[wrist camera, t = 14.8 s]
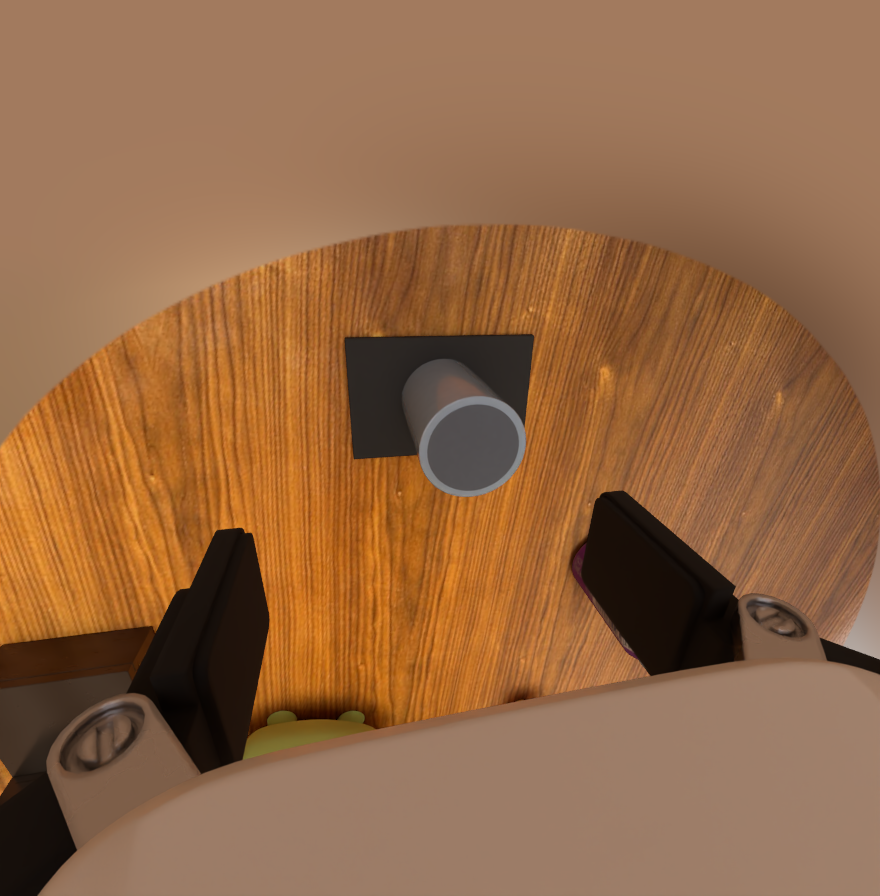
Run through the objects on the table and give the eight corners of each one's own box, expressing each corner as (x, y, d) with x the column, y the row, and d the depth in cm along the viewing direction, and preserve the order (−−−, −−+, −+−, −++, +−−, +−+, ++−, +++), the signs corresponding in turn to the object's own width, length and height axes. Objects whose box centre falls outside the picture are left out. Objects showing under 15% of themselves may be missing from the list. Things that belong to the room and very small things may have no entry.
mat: (353, 456, 36) (353, 459, 36) (344, 337, 32) (344, 338, 32) (520, 445, 39) (522, 448, 38) (531, 334, 35) (534, 335, 34)
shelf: (51, 731, 42) (-18, 840, 34) (1, 644, 37) (-92, 749, 29) (182, 710, 44) (146, 808, 36) (152, 625, 39) (102, 718, 31)
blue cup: (402, 439, 36) (419, 502, 27) (400, 359, 33) (418, 399, 24) (479, 435, 37) (521, 493, 28) (484, 357, 34) (532, 394, 25)
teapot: (203, 815, 52) (147, 1025, 38) (217, 694, 44) (153, 901, 30) (401, 803, 59) (416, 977, 45) (442, 696, 51) (477, 865, 37)
